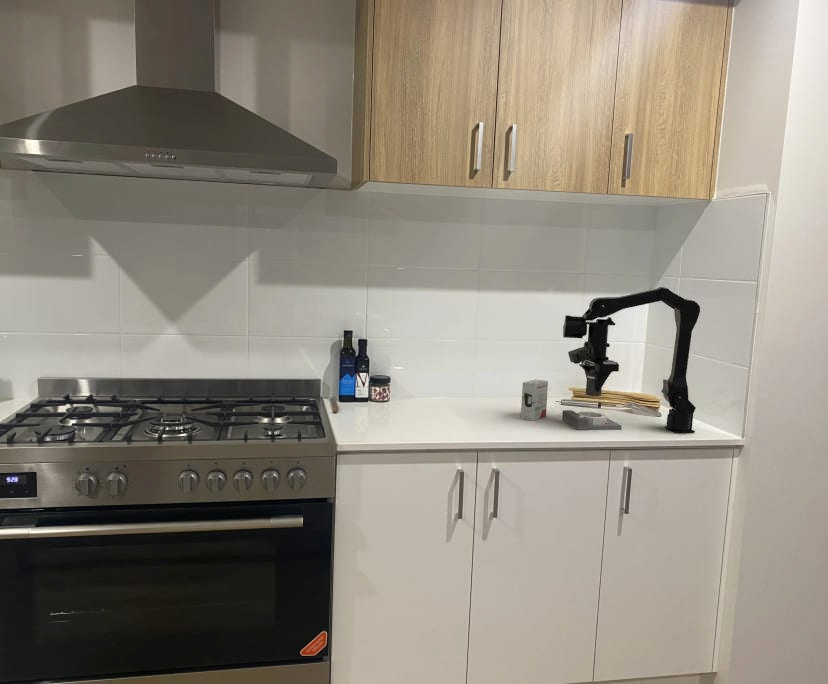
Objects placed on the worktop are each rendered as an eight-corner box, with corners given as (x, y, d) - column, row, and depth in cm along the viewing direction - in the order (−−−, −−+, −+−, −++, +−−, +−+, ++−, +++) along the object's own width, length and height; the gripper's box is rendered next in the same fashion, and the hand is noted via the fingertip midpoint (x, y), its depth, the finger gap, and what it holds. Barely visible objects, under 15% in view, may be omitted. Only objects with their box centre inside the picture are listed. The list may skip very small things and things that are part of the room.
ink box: (533, 414, 218) (535, 378, 217) (546, 416, 215) (549, 380, 214) (519, 418, 212) (521, 381, 210) (533, 421, 209) (535, 384, 207)
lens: (597, 392, 208) (598, 370, 207) (604, 396, 203) (605, 373, 203) (582, 393, 207) (584, 370, 206) (589, 396, 203) (591, 372, 202)
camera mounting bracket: (603, 419, 214) (604, 408, 213) (621, 429, 202) (622, 417, 202) (562, 420, 211) (562, 408, 211) (578, 430, 199) (578, 417, 199)
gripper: (560, 335, 211) (557, 383, 213) (586, 343, 193) (582, 396, 195) (593, 335, 213) (589, 383, 215) (621, 343, 195) (617, 396, 197)
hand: (593, 389), depth 205 cm, fingers closed on lens, 5 cm apart
